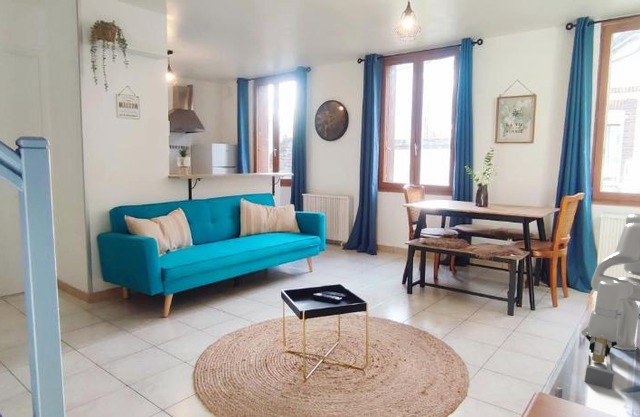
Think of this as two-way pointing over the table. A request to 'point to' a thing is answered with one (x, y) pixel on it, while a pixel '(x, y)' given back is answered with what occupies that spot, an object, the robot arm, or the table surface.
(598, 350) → the sprinkles bottle
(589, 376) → the guide channel
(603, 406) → the table surface
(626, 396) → the table surface
